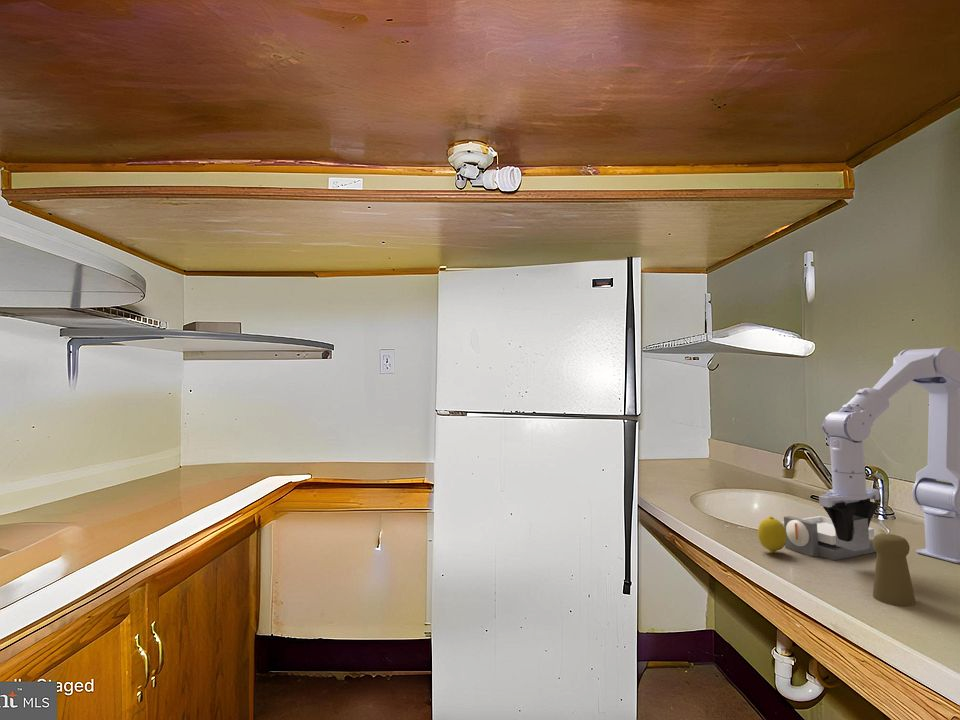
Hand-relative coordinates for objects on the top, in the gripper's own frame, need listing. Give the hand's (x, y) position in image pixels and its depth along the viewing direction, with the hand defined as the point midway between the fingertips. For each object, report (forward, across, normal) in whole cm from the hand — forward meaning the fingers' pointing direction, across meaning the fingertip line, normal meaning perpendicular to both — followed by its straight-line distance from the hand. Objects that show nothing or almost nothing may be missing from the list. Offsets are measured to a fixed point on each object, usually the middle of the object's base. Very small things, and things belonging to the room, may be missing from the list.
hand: (852, 538), depth 111 cm
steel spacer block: (+2, 0, 0) cm, 2 cm away
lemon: (+6, +6, -14) cm, 16 cm away
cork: (+6, +8, +13) cm, 17 cm away
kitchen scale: (+6, -7, -12) cm, 15 cm away
